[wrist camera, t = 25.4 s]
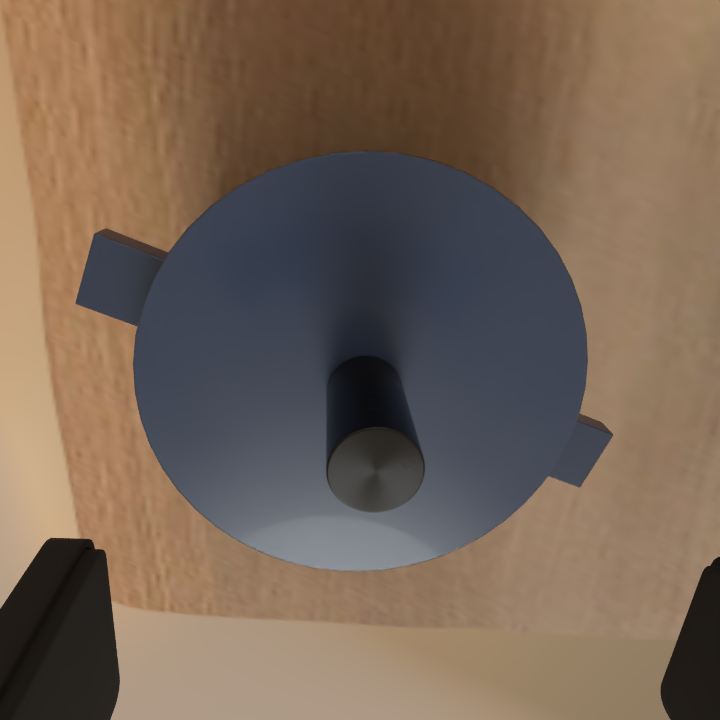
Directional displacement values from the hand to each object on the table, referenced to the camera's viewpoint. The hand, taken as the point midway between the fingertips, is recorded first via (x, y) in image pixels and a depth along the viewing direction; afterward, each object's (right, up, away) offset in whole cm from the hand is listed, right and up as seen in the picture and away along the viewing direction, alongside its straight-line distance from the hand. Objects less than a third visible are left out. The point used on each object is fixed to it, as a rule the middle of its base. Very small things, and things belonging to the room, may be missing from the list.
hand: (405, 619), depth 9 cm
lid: (-1, +3, +10) cm, 11 cm away
